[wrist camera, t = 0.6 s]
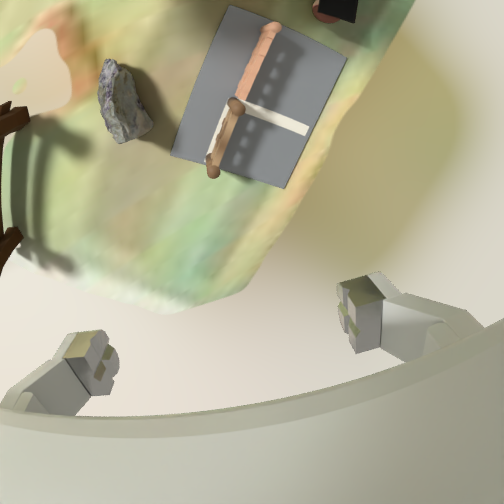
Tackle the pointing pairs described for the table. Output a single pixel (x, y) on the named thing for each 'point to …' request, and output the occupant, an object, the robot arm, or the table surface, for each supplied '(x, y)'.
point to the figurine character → (335, 10)
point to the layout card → (258, 99)
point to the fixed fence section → (224, 137)
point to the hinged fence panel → (257, 58)
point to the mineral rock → (121, 104)
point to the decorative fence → (3, 123)
